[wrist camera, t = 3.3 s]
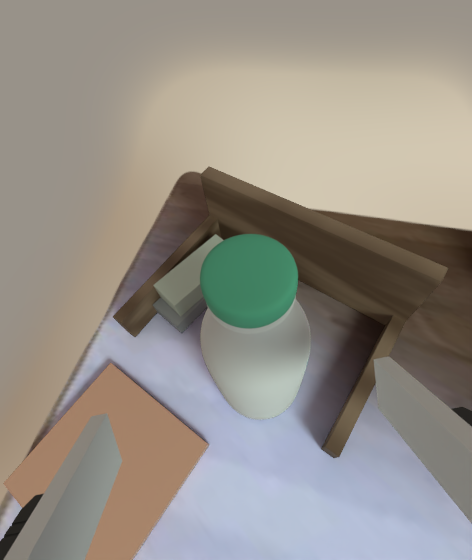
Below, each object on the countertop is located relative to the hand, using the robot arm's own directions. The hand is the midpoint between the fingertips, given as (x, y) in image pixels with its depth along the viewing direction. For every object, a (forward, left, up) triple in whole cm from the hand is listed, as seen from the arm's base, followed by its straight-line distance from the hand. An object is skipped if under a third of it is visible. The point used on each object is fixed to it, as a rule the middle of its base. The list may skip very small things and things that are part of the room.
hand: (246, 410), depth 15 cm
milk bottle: (-5, -3, -16) cm, 17 cm away
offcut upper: (-10, -14, -14) cm, 22 cm away
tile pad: (+9, -10, -16) cm, 21 cm away
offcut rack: (-10, -6, -16) cm, 19 cm away
